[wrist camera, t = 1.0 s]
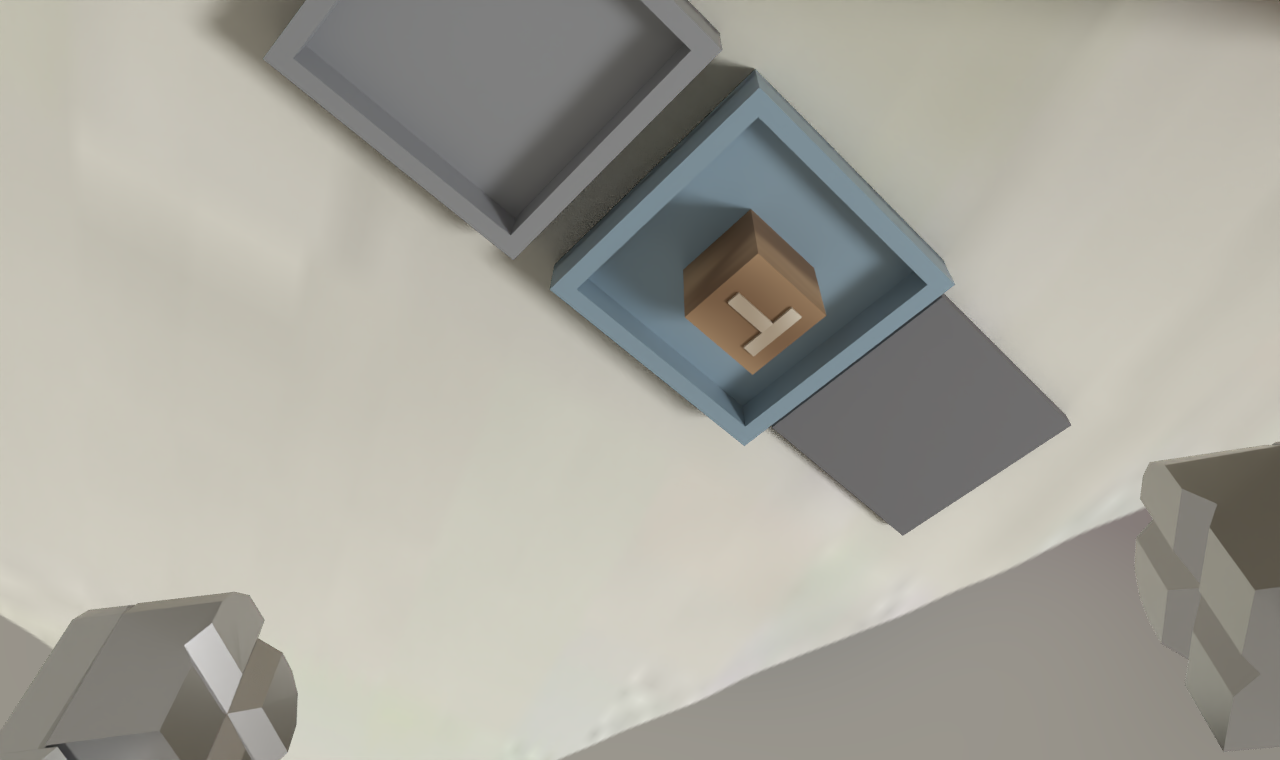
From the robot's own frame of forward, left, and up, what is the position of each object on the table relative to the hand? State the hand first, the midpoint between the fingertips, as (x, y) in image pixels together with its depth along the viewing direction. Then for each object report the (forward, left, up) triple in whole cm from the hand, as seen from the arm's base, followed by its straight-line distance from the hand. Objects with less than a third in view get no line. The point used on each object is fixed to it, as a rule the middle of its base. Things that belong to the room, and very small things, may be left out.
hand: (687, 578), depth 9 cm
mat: (+8, +24, -33) cm, 42 cm away
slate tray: (+8, +12, -33) cm, 36 cm away
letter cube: (+8, +12, -32) cm, 35 cm away
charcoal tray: (+8, -2, -33) cm, 34 cm away
